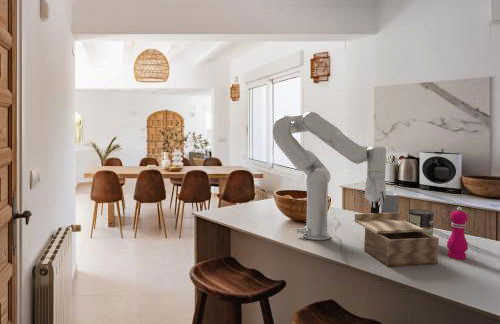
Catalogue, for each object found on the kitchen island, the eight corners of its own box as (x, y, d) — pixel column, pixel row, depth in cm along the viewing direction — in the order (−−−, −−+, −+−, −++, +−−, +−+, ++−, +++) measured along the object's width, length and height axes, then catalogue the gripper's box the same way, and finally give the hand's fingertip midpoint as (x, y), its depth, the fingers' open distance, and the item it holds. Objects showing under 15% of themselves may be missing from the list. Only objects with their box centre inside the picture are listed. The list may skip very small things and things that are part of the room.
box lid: (376, 233, 144) (376, 224, 144) (354, 221, 162) (354, 213, 162) (424, 231, 148) (424, 222, 147) (397, 220, 166) (398, 212, 165)
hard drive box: (397, 238, 172) (399, 195, 171) (379, 237, 174) (381, 195, 172) (391, 230, 187) (393, 190, 186) (375, 229, 189) (377, 189, 187)
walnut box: (387, 267, 136) (389, 240, 135) (364, 251, 154) (365, 227, 153) (437, 264, 140) (438, 238, 139) (408, 248, 158) (409, 225, 157)
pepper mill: (442, 254, 151) (445, 205, 150) (459, 253, 152) (462, 204, 150) (453, 260, 144) (456, 208, 142) (471, 259, 145) (474, 208, 143)
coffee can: (434, 241, 168) (435, 210, 167) (431, 248, 159) (432, 215, 158) (409, 238, 173) (410, 208, 172) (405, 243, 165) (406, 212, 163)
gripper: (359, 173, 170) (358, 213, 172) (377, 177, 156) (375, 220, 157) (375, 172, 172) (373, 212, 173) (393, 176, 157) (392, 219, 159)
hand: (374, 216), depth 165 cm, fingers closed
